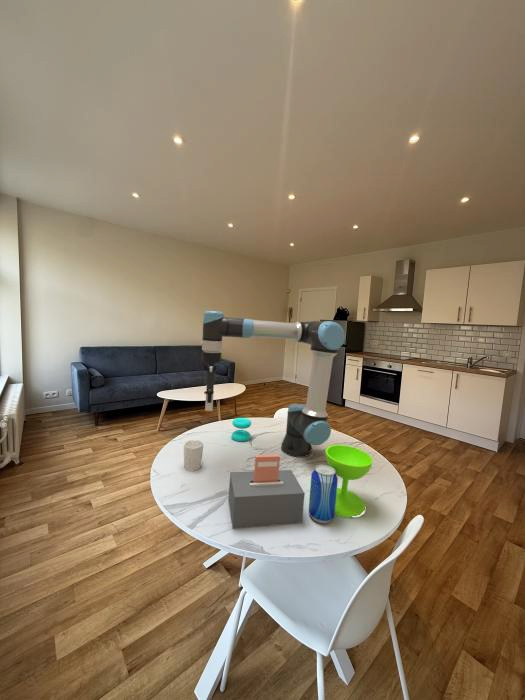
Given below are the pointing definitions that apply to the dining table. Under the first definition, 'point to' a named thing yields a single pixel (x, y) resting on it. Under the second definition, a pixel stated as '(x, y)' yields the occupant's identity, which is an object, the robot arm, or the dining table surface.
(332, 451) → the wineglass
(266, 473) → the ticket
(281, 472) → the dispenser
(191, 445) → the white cup
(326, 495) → the beer can
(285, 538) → the dining table surface
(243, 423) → the donuts
